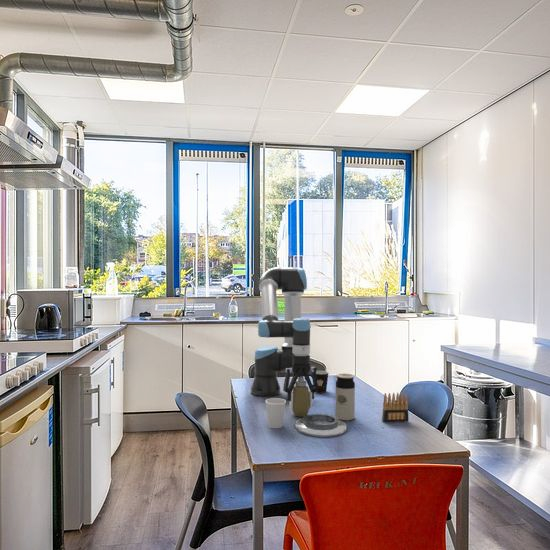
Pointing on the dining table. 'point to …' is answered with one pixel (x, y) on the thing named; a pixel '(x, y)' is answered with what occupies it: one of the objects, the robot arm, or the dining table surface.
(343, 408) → the travel mug
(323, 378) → the coffee mug
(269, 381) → the robot arm
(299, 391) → the squeeze bottle
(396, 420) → the ammunition clip
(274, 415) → the dixie cup
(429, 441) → the dining table surface
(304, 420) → the rosette plate
